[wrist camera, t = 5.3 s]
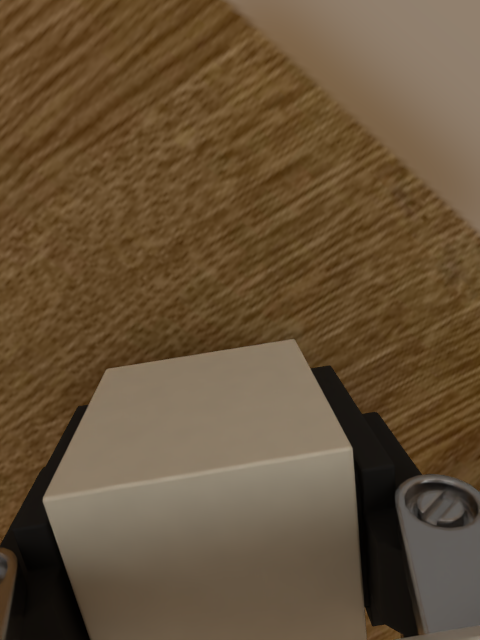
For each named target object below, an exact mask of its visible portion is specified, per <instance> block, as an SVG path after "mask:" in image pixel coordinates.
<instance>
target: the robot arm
mask: <svg viewBox="0 0 480 640" xmlns="http://www.w3.org/2000/svg"><path fill="white" fill-rule="evenodd" d="M311 371H312V373H313V375H314V377H315V379H316V380H317V382H318V384H319V386H320V388H321V390H322V392H323V394H324V395H325V397H326V399H327V401H328V403H329V405H330V407H331V409H332V410H333V412H334V414H335V416H336V418H337V420H338V422H339V424H340V425H341V427H342V429H343V431H344V433H345V435H346V437H347V439H348V440H349V442H350V444H351V446H352V448H353V460H354V473H355V487H356V501H357V514H358V528H359V541H360V555H361V568H362V582H363V595H364V607H365V608H366V611H367V613H368V616H369V619H370V621H371V624H372V626H378V625H384V624H386V625H387V626H389V627H391V628H393V629H394V630H396V631H398V632H400V633H401V639H395V640H480V492H479V491H477V490H476V489H475V488H474V487H472V486H471V485H470V484H468V483H465V482H463V481H461V480H459V479H457V478H453V477H449V476H445V475H436V474H426V475H422V474H421V473H420V471H419V470H418V469H417V467H416V466H415V464H414V463H413V462H412V460H411V459H410V457H409V456H408V454H407V453H406V452H405V450H404V449H403V447H402V446H401V445H400V443H399V442H398V440H397V439H396V438H395V436H394V435H393V433H392V432H391V431H390V429H389V428H388V426H387V425H386V424H385V422H384V421H383V419H382V418H381V417H380V415H379V414H378V413H377V412H371V413H365V414H361V412H360V410H359V409H358V407H357V406H356V404H355V403H354V401H353V400H352V398H351V396H350V395H349V393H348V392H347V390H346V389H345V387H344V386H343V384H342V382H341V381H340V379H339V378H338V376H337V375H336V373H335V372H334V370H333V368H332V367H331V366H323V367H317V368H311ZM87 407H88V405H83V406H78V408H77V409H76V411H75V413H74V415H73V417H72V418H71V420H70V422H69V424H68V426H67V428H66V430H65V431H64V433H63V435H62V437H61V439H60V441H59V443H58V445H57V446H56V448H55V450H54V452H53V454H52V456H51V458H50V460H49V461H48V463H47V465H46V467H44V468H43V469H42V470H41V471H40V473H39V475H38V477H37V478H36V480H35V482H34V484H33V486H32V488H31V489H30V491H29V493H28V495H27V497H26V499H25V500H24V502H23V504H22V506H21V508H20V510H19V511H18V513H17V515H16V517H15V519H14V521H13V522H12V524H11V526H10V528H9V530H8V532H7V534H6V535H5V537H4V539H3V541H2V543H1V545H0V640H90V638H89V635H88V632H87V629H86V626H85V623H84V620H83V617H82V614H81V611H80V609H79V606H78V603H77V600H76V597H75V594H74V591H73V588H72V585H71V582H70V579H69V576H68V574H67V571H66V568H65V565H64V562H63V559H62V556H61V553H60V550H59V547H58V544H57V541H56V539H55V536H54V533H53V530H52V527H51V524H50V521H49V518H48V515H47V512H46V509H45V506H44V504H43V497H44V495H45V493H46V491H47V489H48V487H49V484H50V482H51V480H52V478H53V476H54V474H55V472H56V470H57V468H58V466H59V464H60V462H61V460H62V458H63V456H64V454H65V452H66V450H67V448H68V446H69V444H70V442H71V440H72V438H73V436H74V434H75V432H76V430H77V428H78V426H79V424H80V422H81V420H82V417H83V415H84V413H85V411H86V409H87Z"/></svg>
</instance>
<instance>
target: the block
mask: <svg viewBox="0 0 480 640" xmlns="http://www.w3.org/2000/svg"><path fill="white" fill-rule="evenodd" d="M43 504H44V506H45V509H46V512H47V515H48V518H49V521H50V524H51V527H52V530H53V533H54V536H55V539H56V541H57V544H58V547H59V550H60V553H61V556H62V559H63V562H64V565H65V568H66V571H67V574H68V576H69V579H70V582H71V585H72V588H73V591H74V594H75V597H76V600H77V603H78V606H79V609H80V611H81V614H82V617H83V620H84V623H85V626H86V629H87V632H88V635H89V638H90V640H367V636H366V622H365V609H364V595H363V582H362V568H361V555H360V541H359V528H358V514H357V501H356V487H355V473H354V460H353V448H352V446H351V444H350V442H349V440H348V439H347V437H346V435H345V433H344V431H343V429H342V427H341V425H340V424H339V422H338V420H337V418H336V416H335V414H334V412H333V410H332V409H331V407H330V405H329V403H328V401H327V399H326V397H325V395H324V394H323V392H322V390H321V388H320V386H319V384H318V382H317V380H316V379H315V377H314V375H313V373H312V371H311V369H310V367H309V365H308V363H307V362H306V360H305V358H304V356H303V354H302V352H301V350H300V348H299V347H298V345H297V343H296V341H295V340H294V339H291V340H285V341H278V342H272V343H266V344H260V345H253V346H247V347H241V348H235V349H228V350H222V351H216V352H210V353H204V354H197V355H191V356H185V357H179V358H172V359H166V360H160V361H154V362H148V363H141V364H135V365H129V366H123V367H116V368H110V369H107V370H106V371H105V373H104V375H103V377H102V379H101V381H100V383H99V385H98V387H97V389H96V391H95V393H94V395H93V397H92V399H91V401H90V403H89V405H88V407H87V409H86V411H85V413H84V415H83V417H82V420H81V422H80V424H79V426H78V428H77V430H76V432H75V434H74V436H73V438H72V440H71V442H70V444H69V446H68V448H67V450H66V452H65V454H64V456H63V458H62V460H61V462H60V464H59V466H58V468H57V470H56V472H55V474H54V476H53V478H52V480H51V482H50V484H49V487H48V489H47V491H46V493H45V495H44V497H43Z"/></svg>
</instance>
